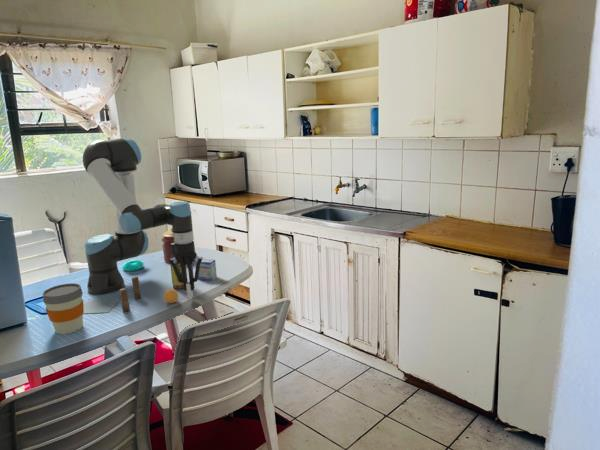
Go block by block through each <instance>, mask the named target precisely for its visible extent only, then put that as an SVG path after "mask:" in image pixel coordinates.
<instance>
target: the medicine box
mask: <svg viewBox="0 0 600 450" xmlns="http://www.w3.org/2000/svg"><path fill="white" fill-rule="evenodd" d="M196 264H197V262H196V261H195V265H196ZM216 265H217V264H216V259H202V261H201V264H200V270H199V277H198V280H197V281H214V280H215V279H216V278H217V277H218V275H217V267H216Z"/></svg>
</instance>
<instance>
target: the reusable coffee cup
mask: <svg viewBox="0 0 600 450" xmlns="http://www.w3.org/2000/svg"><path fill="white" fill-rule="evenodd" d="M42 301H43V303H44V304H45V306H46V307H45V311H46V314H47V316H48V319H49V322H51V323H52V325H53V329H54V332H55V334H57V333H59V334H58V335H67V334H66V333H69V334H72V333H71V332H73V333H75V332H77V331H76V330H78V329H79V330H81V329H82V328H83V327H82V326H84V321H83V318H84V314H83V313H84V306H83V304H84V299H83V290H82V286H81V284H79V283H62V284H59V285H55V286H52V287H48V288H47V289H46V290H44V291H43V292H42ZM81 327H82V328H81ZM80 328H81V329H80ZM79 330H78V331H79ZM74 331H75V332H74Z"/></svg>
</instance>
